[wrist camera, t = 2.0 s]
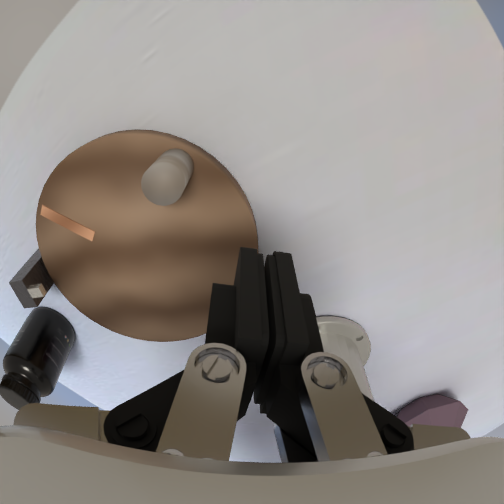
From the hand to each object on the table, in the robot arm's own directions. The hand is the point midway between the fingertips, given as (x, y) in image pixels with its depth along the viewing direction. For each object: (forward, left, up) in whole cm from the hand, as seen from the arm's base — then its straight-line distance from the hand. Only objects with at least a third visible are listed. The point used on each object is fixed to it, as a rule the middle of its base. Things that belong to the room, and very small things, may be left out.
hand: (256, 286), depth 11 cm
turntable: (-5, +11, -16) cm, 20 cm away
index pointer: (-5, +22, -16) cm, 27 cm away
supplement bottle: (-14, +28, -16) cm, 35 cm away
